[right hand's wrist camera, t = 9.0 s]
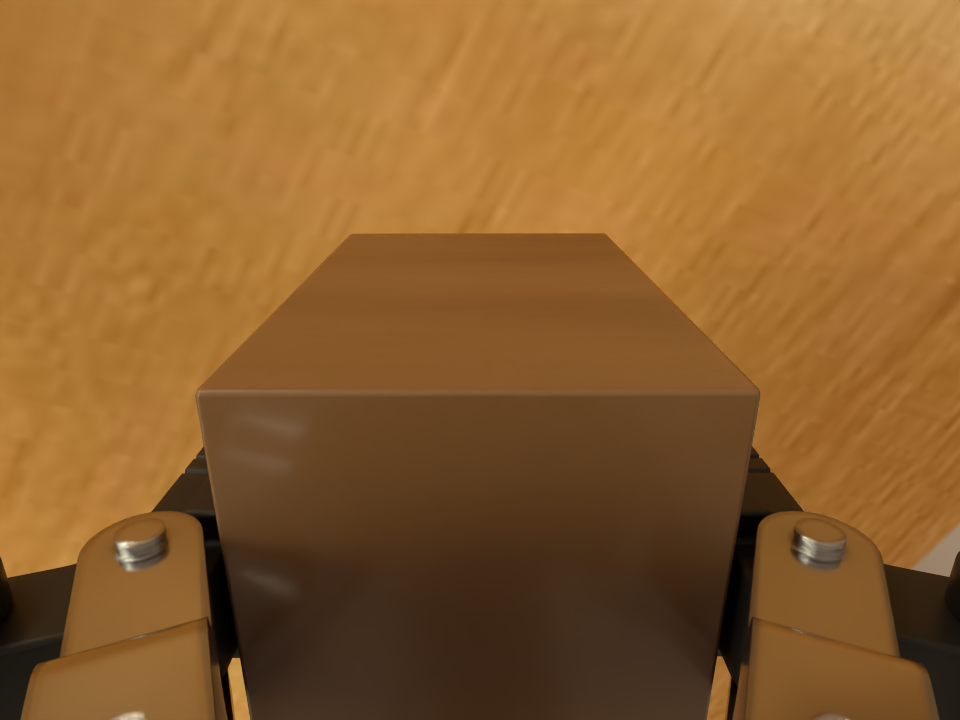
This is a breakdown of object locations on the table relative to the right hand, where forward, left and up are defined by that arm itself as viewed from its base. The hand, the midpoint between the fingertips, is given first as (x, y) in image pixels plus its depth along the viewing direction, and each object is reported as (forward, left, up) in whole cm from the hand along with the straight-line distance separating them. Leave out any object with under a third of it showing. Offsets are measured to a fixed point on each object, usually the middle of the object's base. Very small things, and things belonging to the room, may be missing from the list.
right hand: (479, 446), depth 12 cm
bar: (+9, +2, -5) cm, 11 cm away
